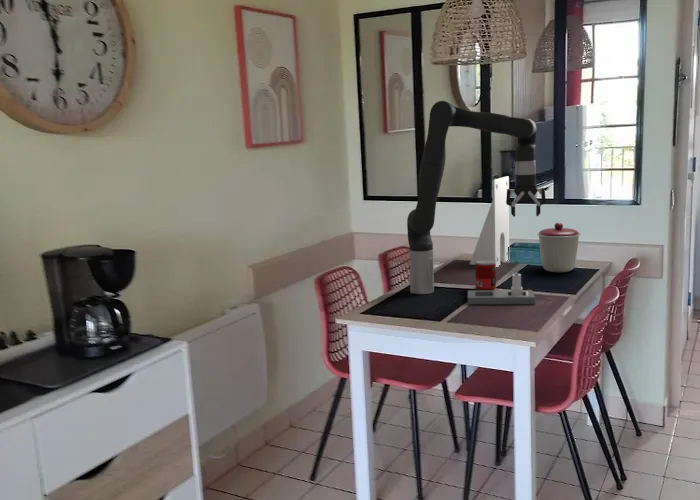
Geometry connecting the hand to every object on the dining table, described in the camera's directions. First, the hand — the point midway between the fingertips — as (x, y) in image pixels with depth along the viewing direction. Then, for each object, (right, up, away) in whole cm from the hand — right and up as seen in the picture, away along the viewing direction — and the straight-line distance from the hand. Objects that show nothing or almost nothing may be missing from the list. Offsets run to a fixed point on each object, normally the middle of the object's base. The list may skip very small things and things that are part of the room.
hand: (525, 216), depth 260 cm
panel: (-10, -32, -3) cm, 33 cm away
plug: (-4, -31, -3) cm, 32 cm away
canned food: (-12, -28, +17) cm, 35 cm away
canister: (+25, -22, +43) cm, 55 cm away
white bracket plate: (-1, -19, +66) cm, 69 cm away
